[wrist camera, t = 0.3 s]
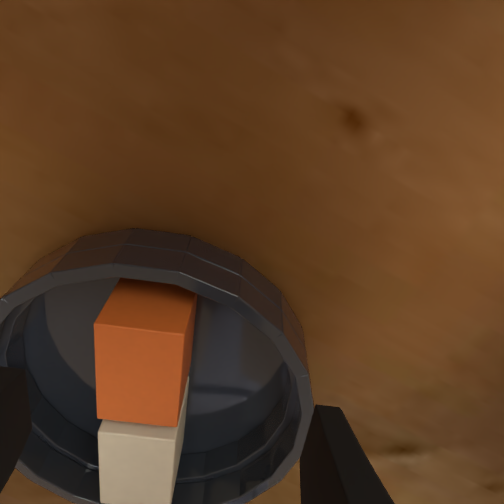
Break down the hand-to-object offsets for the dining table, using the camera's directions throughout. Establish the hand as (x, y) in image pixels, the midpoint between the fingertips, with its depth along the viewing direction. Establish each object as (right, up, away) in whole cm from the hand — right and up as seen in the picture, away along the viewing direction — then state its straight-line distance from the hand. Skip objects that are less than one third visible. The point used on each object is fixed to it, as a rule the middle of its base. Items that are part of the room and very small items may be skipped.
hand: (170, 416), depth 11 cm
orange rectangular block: (-2, +1, +10) cm, 10 cm away
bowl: (-3, -1, +12) cm, 12 cm away
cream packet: (-3, -4, +12) cm, 14 cm away
